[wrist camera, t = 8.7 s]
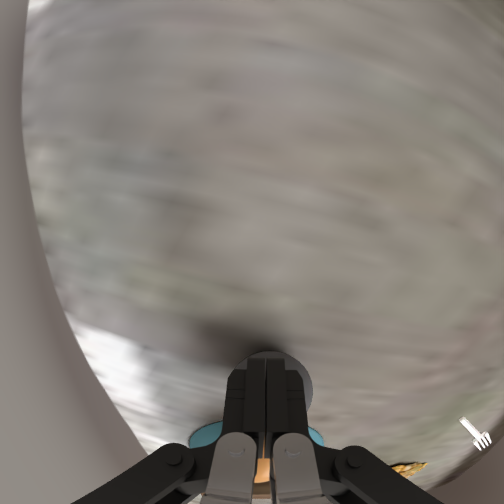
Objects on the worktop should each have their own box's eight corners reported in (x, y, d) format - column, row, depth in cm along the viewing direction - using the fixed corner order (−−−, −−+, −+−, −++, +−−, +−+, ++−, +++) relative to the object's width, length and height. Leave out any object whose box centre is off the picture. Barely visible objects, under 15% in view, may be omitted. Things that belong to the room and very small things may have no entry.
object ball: (231, 477, 18) (235, 495, 20) (300, 460, 19) (294, 481, 21) (217, 422, 22) (223, 448, 25) (279, 409, 24) (276, 437, 26)
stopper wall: (201, 475, 30) (199, 491, 28) (310, 476, 30) (311, 492, 28) (203, 480, 31) (201, 495, 29) (307, 481, 31) (309, 496, 29)
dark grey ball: (249, 459, 15) (244, 416, 20) (333, 427, 15) (311, 389, 21) (210, 392, 15) (214, 357, 20) (306, 355, 15) (287, 328, 21)
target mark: (178, 413, 24) (178, 415, 23) (335, 414, 23) (336, 416, 23) (199, 470, 29) (199, 471, 29) (312, 471, 29) (312, 472, 29)
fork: (469, 407, 26) (475, 418, 24) (489, 434, 31) (493, 441, 30) (449, 422, 27) (454, 433, 25) (475, 444, 33) (478, 452, 31)
